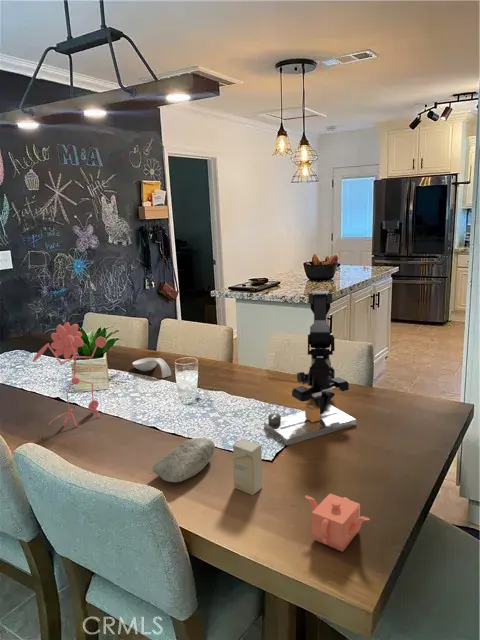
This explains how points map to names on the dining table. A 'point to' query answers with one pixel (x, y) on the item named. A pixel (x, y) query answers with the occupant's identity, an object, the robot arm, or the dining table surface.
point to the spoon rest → (152, 365)
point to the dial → (274, 419)
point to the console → (309, 425)
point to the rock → (185, 460)
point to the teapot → (335, 521)
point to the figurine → (67, 345)
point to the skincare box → (247, 466)
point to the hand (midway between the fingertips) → (321, 413)
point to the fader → (312, 413)
